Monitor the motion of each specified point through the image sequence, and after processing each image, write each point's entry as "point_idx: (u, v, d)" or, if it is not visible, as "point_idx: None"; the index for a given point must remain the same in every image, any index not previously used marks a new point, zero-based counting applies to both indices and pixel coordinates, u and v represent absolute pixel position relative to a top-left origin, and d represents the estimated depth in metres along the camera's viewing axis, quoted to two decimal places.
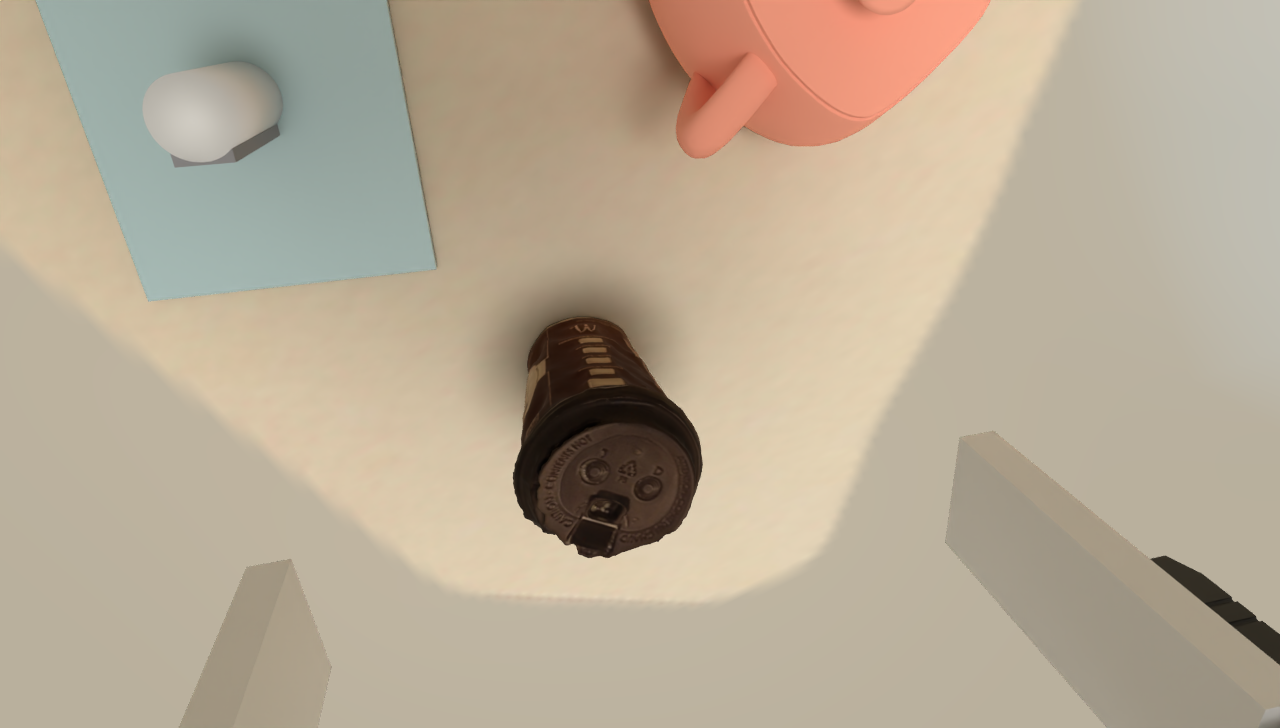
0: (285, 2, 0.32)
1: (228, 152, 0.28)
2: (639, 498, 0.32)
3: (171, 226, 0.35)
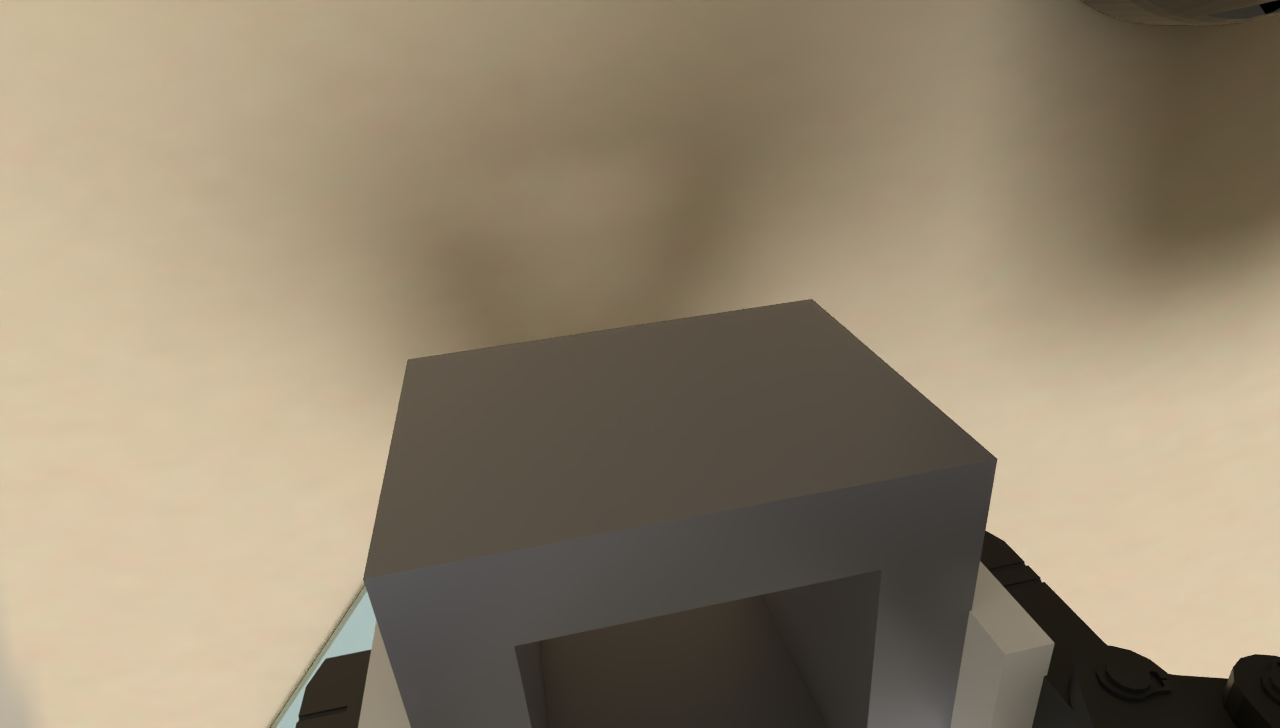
0: None
1: None
2: None
3: None
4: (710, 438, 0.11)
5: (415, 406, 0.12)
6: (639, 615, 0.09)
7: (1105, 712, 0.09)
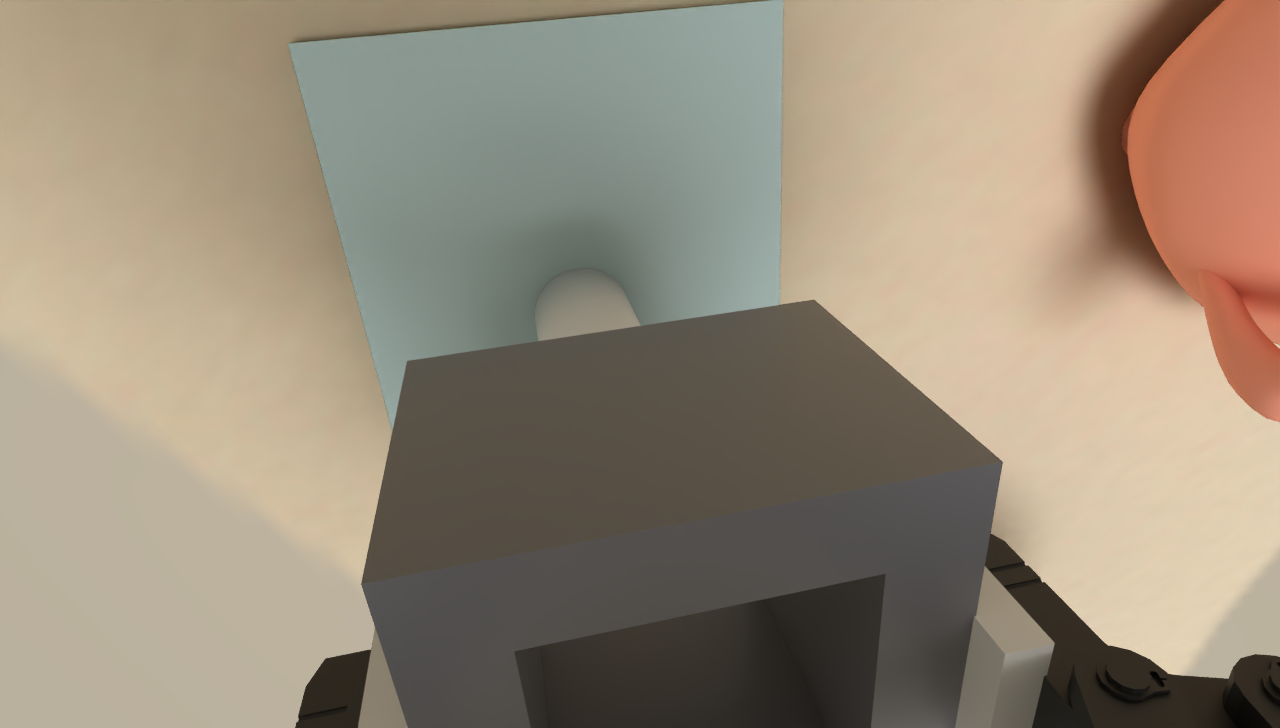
0: (653, 192, 0.23)
1: None
2: None
3: None
4: (713, 440, 0.10)
5: (414, 408, 0.12)
6: (640, 619, 0.09)
7: (1104, 712, 0.09)
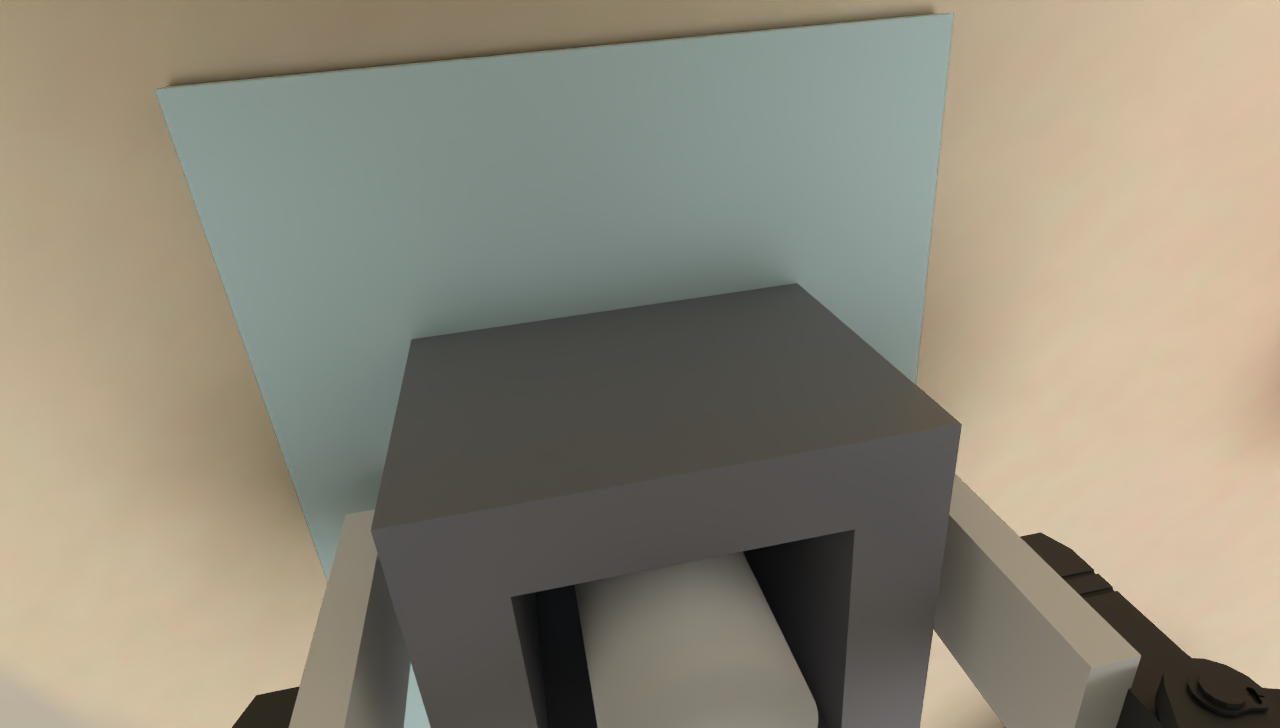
0: None
1: None
2: None
3: None
4: (695, 407, 0.11)
5: (418, 380, 0.13)
6: (627, 569, 0.10)
7: (1195, 724, 0.09)
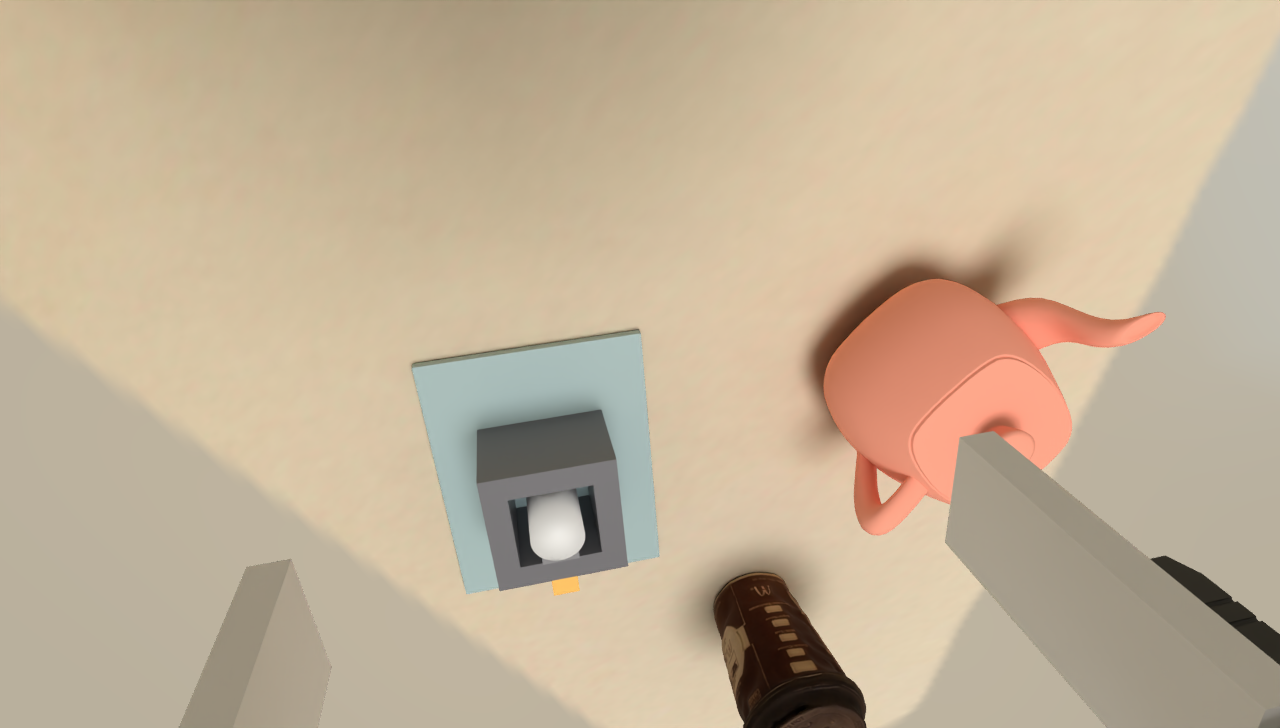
0: None
1: (576, 553, 0.43)
2: None
3: (489, 548, 0.51)
4: (555, 454, 0.43)
5: (481, 444, 0.45)
6: (535, 494, 0.42)
7: None
